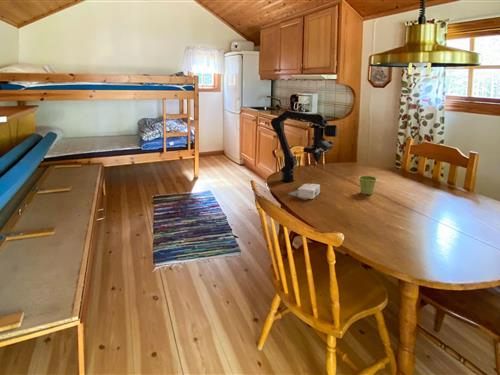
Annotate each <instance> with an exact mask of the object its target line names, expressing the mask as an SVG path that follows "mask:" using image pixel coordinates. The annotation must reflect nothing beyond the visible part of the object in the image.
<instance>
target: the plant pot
mask: <svg viewBox="0 0 500 375" xmlns="http://www.w3.org/2000/svg"><path fill="white" fill-rule="evenodd" d="M358 179H359V184H360V185H359V187H360V194H363V195H373V193H374V188H375V185H376V184H375V183H376V181H377V180H378V178H377V177H375V176H372V175H359V176H358Z"/></svg>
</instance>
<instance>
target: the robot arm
mask: <svg viewBox="0 0 500 375" xmlns="http://www.w3.org/2000/svg"><path fill="white" fill-rule="evenodd" d="M289 118H291V119H297V120H303V121H308V122H310V123H312V124H311V126H310V127H309V128H310V129H313V137H311V140H312V144H311V145H310V146H305V147H302V148H303V149H302V150H303V153H306V154H311V155H312V157H313V158H314V161H315V163H316V164H318V163H319V162H320V159H321V157H322V154H324V153H325V152H327V151H331V150H333V148H334V142H333V141H332V140H330V141H326V138H325V137H327V138H328V137H329V138H337V137H338V131H339V129H338V124H329V122H328V121H327V119H326V116H325V114H324V113H322V112H314V113H307V112H301V111H295V110H291V109H286V110H285V111H283V112H282V113H281V114H279V115H278V116H277V117H273V118H272V119H271V121H270V125H271V127H272V130H273V131H274V132H275V134H276V135H277V139H278V141H279V144H280V147H281V150H282V153H283V163H284V164H283V165H284V166H282V167H281V168H280V171H281V173H282V174H281V178H280V182H281V181H282V182H283V183H291V182H294V181H295V179H294V169H295V168H296V167H297V165H298V159H297V156H296V154H293V153H292V150H291V148H290V145H289V142H288V139H287V136H286V132H285V122H286V121H287V119H289ZM324 136H325V137H324Z"/></svg>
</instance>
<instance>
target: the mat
mask: <svg viewBox="0 0 500 375" xmlns="http://www.w3.org/2000/svg"><path fill="white" fill-rule="evenodd" d="M287 195H289V196H293V197H295V198H298V199H301V200H305V201H306V200H309V198H302V197H298V189H297V190H294V191H291V192H288V193H287ZM318 196H319V194H318V195H316V196H315V197H318Z"/></svg>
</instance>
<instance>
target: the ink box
mask: <svg viewBox="0 0 500 375" xmlns="http://www.w3.org/2000/svg"><path fill="white" fill-rule="evenodd" d="M297 190H298V197H302V198H309V199H310V200H313V199H315V198H316V197H317V196H316V195H318V196H319V194H320V192H321V184H317V183H309V182H308V183H307V182H305V183H304V184H302V185H301V186H300V187H298V188H297ZM298 197H297V198H298ZM309 199H308V200H309Z"/></svg>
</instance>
